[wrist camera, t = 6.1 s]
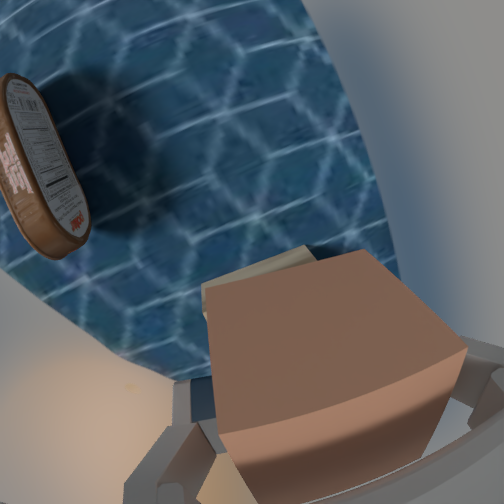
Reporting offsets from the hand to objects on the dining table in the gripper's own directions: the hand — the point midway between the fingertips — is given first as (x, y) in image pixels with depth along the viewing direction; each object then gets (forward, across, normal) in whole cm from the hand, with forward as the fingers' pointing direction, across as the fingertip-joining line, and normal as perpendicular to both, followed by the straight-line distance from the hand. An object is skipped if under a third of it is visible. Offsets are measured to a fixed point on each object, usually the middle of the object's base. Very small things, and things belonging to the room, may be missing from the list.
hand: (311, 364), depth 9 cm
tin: (+19, +14, -8) cm, 25 cm away
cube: (+2, 0, 0) cm, 2 cm away
